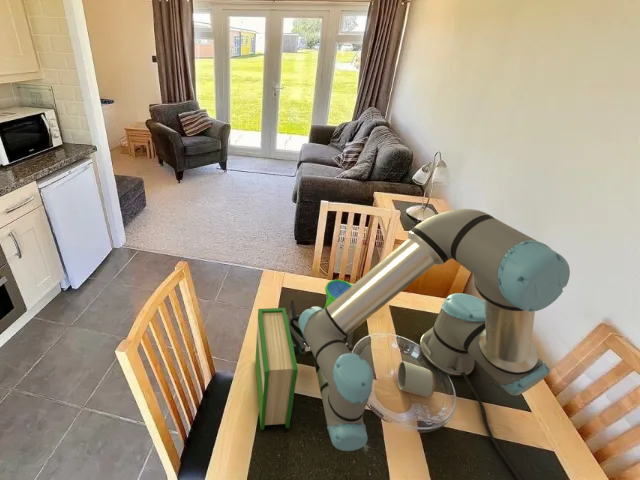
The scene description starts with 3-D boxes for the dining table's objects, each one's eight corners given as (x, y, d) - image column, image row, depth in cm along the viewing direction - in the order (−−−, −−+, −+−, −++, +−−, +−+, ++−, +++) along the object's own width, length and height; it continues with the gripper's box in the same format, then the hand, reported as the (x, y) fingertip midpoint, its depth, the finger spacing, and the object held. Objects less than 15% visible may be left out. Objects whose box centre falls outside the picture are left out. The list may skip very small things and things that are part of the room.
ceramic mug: (430, 404, 88) (438, 387, 84) (399, 396, 90) (406, 378, 86) (422, 369, 97) (429, 352, 94) (394, 362, 99) (400, 346, 95)
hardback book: (289, 427, 81) (297, 369, 70) (260, 429, 81) (265, 371, 70) (279, 363, 97) (285, 307, 86) (255, 364, 96) (258, 308, 85)
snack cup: (333, 330, 109) (338, 309, 104) (311, 310, 116) (314, 290, 111) (361, 309, 117) (366, 289, 112) (339, 292, 124) (343, 272, 120)
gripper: (279, 381, 78) (272, 312, 97) (378, 379, 79) (352, 311, 98) (281, 362, 74) (273, 294, 93) (384, 360, 76) (356, 294, 94)
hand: (314, 303), depth 96 cm, fingers open, 13 cm apart
